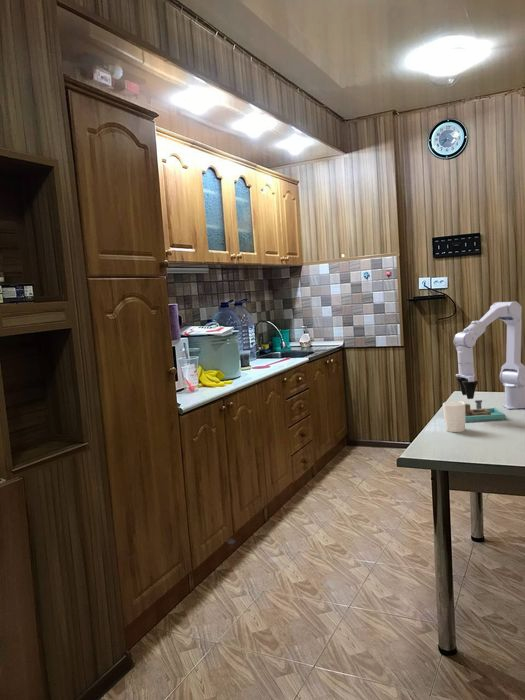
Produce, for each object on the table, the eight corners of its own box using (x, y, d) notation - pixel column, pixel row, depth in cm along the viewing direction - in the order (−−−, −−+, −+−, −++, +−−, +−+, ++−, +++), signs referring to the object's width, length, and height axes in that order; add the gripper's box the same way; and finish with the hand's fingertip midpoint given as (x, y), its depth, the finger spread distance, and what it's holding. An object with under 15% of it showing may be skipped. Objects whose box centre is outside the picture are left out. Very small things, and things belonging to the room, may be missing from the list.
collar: (485, 413, 220) (485, 401, 220) (491, 417, 213) (490, 404, 213) (460, 415, 222) (459, 402, 221) (464, 419, 215) (463, 406, 214)
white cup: (442, 432, 201) (440, 405, 200) (446, 426, 208) (444, 400, 207) (465, 433, 197) (463, 405, 196) (468, 427, 204) (466, 401, 203)
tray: (495, 412, 222) (495, 407, 222) (505, 419, 211) (505, 414, 210) (454, 415, 224) (454, 410, 224) (462, 422, 212) (462, 417, 212)
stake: (481, 409, 229) (481, 399, 229) (483, 410, 227) (482, 400, 227) (475, 410, 230) (474, 400, 229) (476, 411, 228) (475, 401, 227)
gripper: (451, 361, 223) (453, 394, 225) (459, 366, 209) (462, 401, 210) (468, 359, 222) (470, 392, 224) (479, 364, 208) (481, 399, 210)
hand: (467, 396), depth 217 cm, fingers open, 7 cm apart
